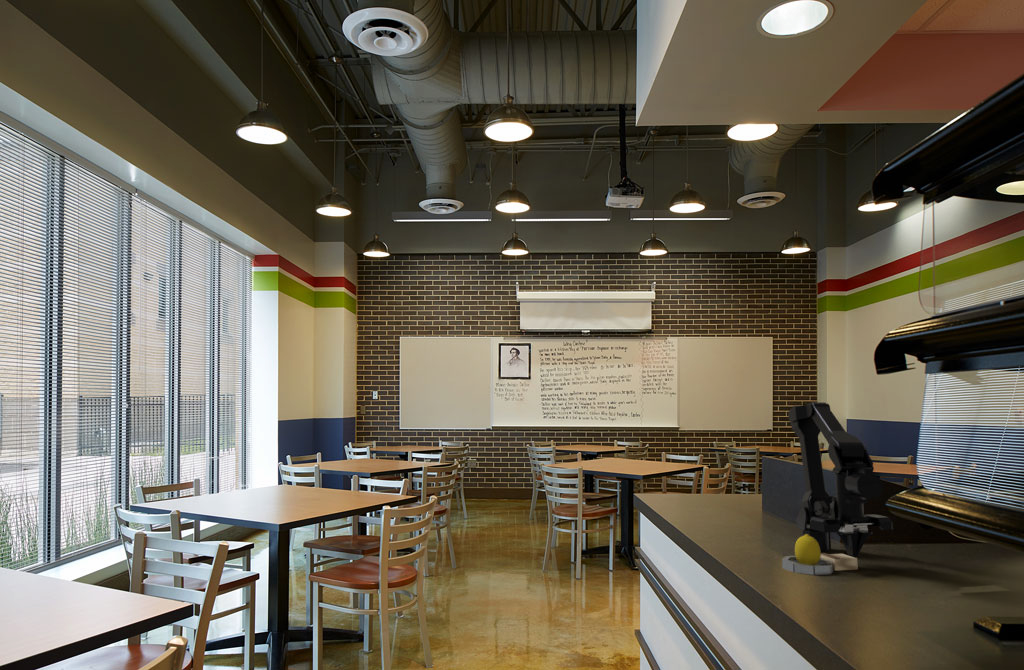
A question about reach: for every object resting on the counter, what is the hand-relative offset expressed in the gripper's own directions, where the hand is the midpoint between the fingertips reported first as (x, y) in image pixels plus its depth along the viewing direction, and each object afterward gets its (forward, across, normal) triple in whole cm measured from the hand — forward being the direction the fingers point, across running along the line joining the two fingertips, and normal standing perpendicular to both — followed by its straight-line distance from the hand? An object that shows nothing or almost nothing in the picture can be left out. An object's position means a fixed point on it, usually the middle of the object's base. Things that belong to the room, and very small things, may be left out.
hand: (852, 560), depth 159 cm
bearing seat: (+1, +12, 0) cm, 12 cm away
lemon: (+2, +12, 0) cm, 12 cm away
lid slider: (+1, +4, 0) cm, 4 cm away
